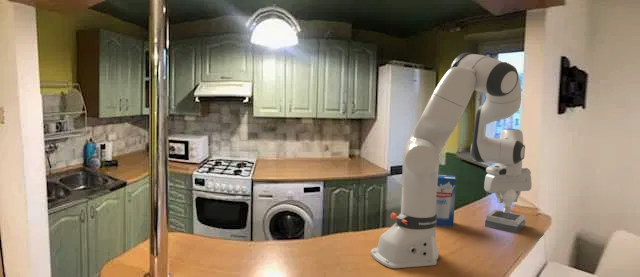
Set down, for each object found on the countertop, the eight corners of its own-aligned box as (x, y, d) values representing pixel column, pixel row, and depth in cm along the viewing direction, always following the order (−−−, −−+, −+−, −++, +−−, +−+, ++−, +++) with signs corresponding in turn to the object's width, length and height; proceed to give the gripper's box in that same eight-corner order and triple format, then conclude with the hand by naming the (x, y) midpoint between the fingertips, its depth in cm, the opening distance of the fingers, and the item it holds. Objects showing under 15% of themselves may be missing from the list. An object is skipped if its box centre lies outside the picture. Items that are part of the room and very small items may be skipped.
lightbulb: (498, 214, 151) (500, 188, 150) (497, 210, 157) (498, 184, 156) (516, 216, 149) (518, 189, 148) (514, 211, 155) (515, 185, 154)
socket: (517, 233, 146) (517, 222, 145) (484, 226, 154) (485, 215, 153) (524, 225, 155) (525, 215, 154) (494, 219, 163) (494, 209, 162)
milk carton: (452, 222, 159) (454, 175, 156) (453, 226, 153) (456, 178, 150) (427, 219, 161) (429, 174, 159) (428, 224, 155) (430, 177, 153)
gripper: (524, 166, 157) (522, 198, 158) (482, 168, 152) (480, 201, 153) (536, 169, 151) (534, 202, 152) (493, 171, 146) (491, 205, 147)
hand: (507, 202), depth 153 cm, fingers closed on lightbulb, 5 cm apart
